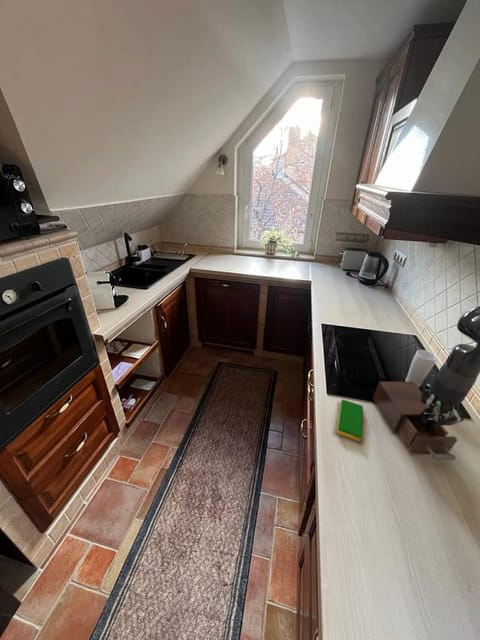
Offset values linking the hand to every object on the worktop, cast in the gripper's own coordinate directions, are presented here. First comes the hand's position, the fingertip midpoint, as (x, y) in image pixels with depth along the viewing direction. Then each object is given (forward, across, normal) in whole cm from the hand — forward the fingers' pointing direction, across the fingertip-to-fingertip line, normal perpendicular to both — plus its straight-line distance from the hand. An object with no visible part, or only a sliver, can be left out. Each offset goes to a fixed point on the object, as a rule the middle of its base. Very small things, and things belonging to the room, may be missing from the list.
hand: (428, 422), depth 77 cm
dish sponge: (+9, +7, +19) cm, 22 cm away
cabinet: (+9, +10, 0) cm, 14 cm away
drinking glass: (+9, +26, -14) cm, 30 cm away
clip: (0, 0, 0) cm, 0 cm away
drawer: (+8, 0, 0) cm, 8 cm away
